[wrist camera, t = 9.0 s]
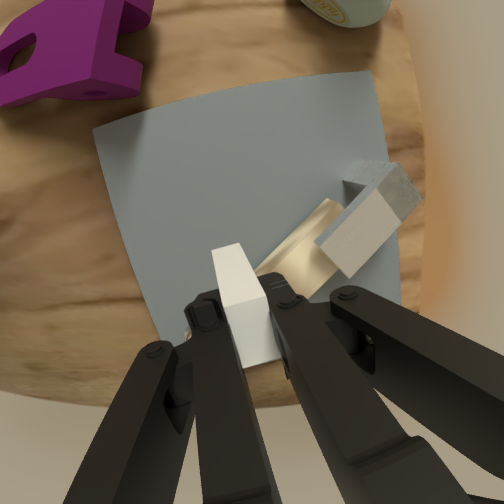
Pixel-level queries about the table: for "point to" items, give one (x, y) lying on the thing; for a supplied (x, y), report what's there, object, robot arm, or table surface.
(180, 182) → the slate board
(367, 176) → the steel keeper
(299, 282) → the brass bar
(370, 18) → the air freshener
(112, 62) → the mounting bracket
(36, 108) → the table surface
